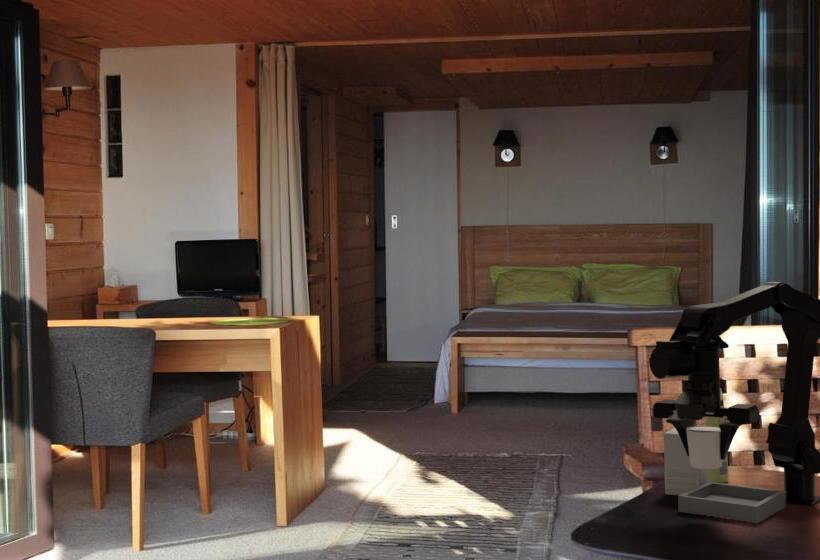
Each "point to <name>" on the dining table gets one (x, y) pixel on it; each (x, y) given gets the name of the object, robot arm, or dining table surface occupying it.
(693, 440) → the white cup
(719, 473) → the tube
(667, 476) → the supplement box
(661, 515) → the dining table surface
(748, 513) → the tray
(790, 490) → the robot arm
